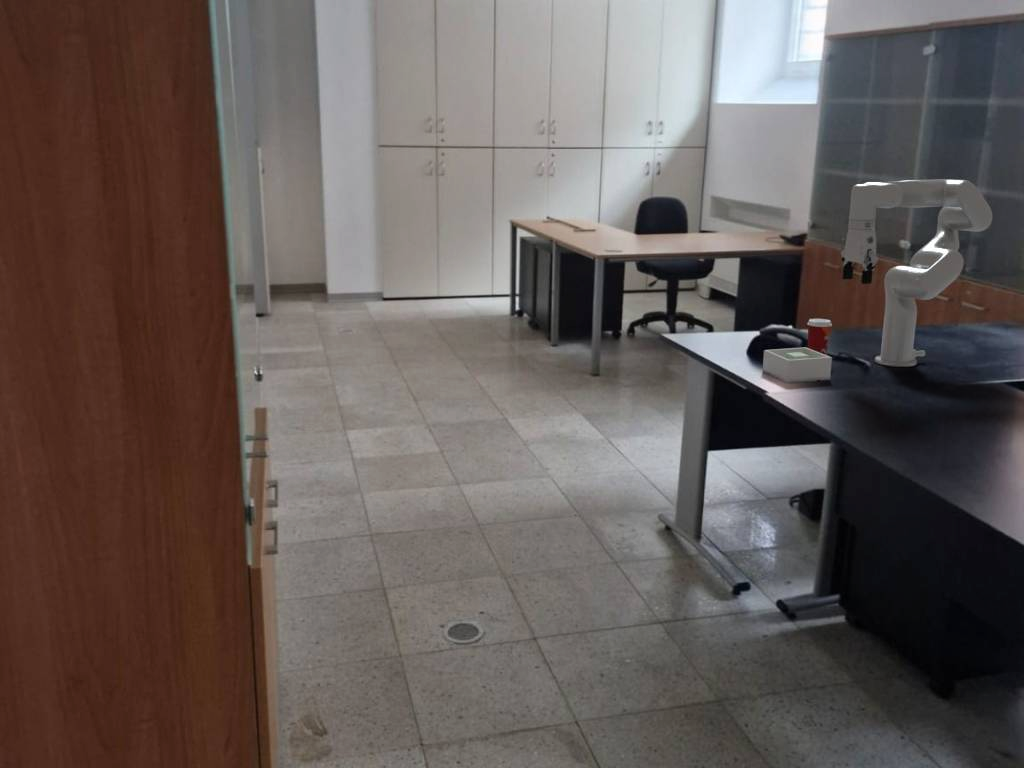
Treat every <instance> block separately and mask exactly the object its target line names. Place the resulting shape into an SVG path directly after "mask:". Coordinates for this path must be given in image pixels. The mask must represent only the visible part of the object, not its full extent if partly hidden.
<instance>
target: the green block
mask: <svg viewBox="0 0 1024 768" xmlns="http://www.w3.org/2000/svg"><path fill="white" fill-rule="evenodd" d="M786 358H787V359H789V360H793V359H807V358H809V355H806V354H804V353H801V352H795V353H786Z"/></svg>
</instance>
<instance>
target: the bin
mask: <svg viewBox="0 0 1024 768" xmlns="http://www.w3.org/2000/svg"><path fill="white" fill-rule="evenodd" d="M795 352H801V353H804V354H806V355H809V358H807V359H793V360H789V359H787V358H786V353H795ZM762 362H763V364H762V372H763V373H764V374H767V375H769V376H771V377H773V378H775V379H778V380H780V381H782V382H784V383H785V384H791V383H793V384H794V383H795V384H796V383H805V382H806V381H807V382H817V380H820V381H830V380H831V372H832V362H833V358H832V357H831V356H830V355H828V354H827V355H824V354H822V353H819V352H816V351H814V350H811V349H809V348H808V347H806V346H805V347H791V348H789V347H788V348H778V349H777V348H776V349H774V348H773V349H765V350H763V361H762Z"/></svg>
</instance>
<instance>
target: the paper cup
mask: <svg viewBox="0 0 1024 768" xmlns="http://www.w3.org/2000/svg"><path fill="white" fill-rule="evenodd" d="M806 325H807V348H809V349H811V350H814V351H816V352H819V353H822V354H824V355H827V356H828V348H829V342H830V334H831V328H832V326H833V324H832V321H831V320H830V319H825V318H809V320H808V322H807V323H806Z"/></svg>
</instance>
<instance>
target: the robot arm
mask: <svg viewBox="0 0 1024 768" xmlns="http://www.w3.org/2000/svg"><path fill="white" fill-rule="evenodd" d="M849 206H850V208H849V216H848V227H847V228H848V230H847V234H846V239H845V245H844V249H843V250H841V251H840V255H841V261H842V280H853V277H854V265H853V264H855V263H856V264H860V265H861V266H862V268H863V270H862V271H861V272H862V273H861V282H860V284H863V285H867V284H868V285H871V283H872V282H873V272H874V271H875V268H876V266H877V262H878V260H879V257H878V256H877V233H876V230H875V229H876V228H875V227H876V219H877V218H876V217H877V208H878V209H892V208H893V209H894V208H895V207H898V208H900V207H901V208H908V209H909V208H912V209H914V208H915V209H917V208H918V209H919V208H920V209H921V208H935V207H937V208H939V207H940V208H941V207H942V208H941V209H940V210H939V213H938V215H937V229H936V234H935V235H934V237H932V238H931V240H930V241H928V242H927V243H926V244H925V245H924V246H922V247H921V248H920V249H919V250H918V251H916V252H915V253H914V254H913V256H912V257H911V259H910V262H909V265H897V266H893V267H891V268H890V269H889V270H888V271H887V272H886V274H885V276H884V279H883V280H884V282H883V283H884V284H883V285H884V292H885V293H884V294H885V304H884V305H885V306H884V307H885V308H884V318H883V327H882V337H881V348H880V355H877V356H875V357H874V361H875V363H877V364H880V365H884V366H886V367H887V366H889V367H897V368H899V367H900V368H901V367H903V368H905V367H906V368H908V367H913V366H916V365H917V362H918V361H917V360H916V358H917V357H925V356H926V351H925V350H924V349H922V350H917V349H914V342H915V333H916V323H917V318H918V317H917V316H918V315H917V314H918V308H917V307H918V306H917V304H916V299H917V300H923V301H926V300H931V299H934V298H935V297H937V296H938V295H939V294H940V293H941V292H943V291H944V290H945V289H947V287H948V286H949V285H951V284H952V283H953V282H955V280H957V278H959V276H960V275H961V273H962V270H963V267H964V263H965V261H964V257H963V255H962V253H960V252H959V249H960V240H959V231H966V232H977V233H978V232H983V231H985V230H987V229H988V228H990V226H991V224H992V222H993V212H992V210H991V209H992V208H991V207H990V205H989V204H988V201H986V200H985V198H984V196H983V195H982V193H981V192H980V190H979V189H978V187H977V186H976V185H975V184H974V183H973V182H971V181H969V180H966V179H950V178H949V179H948V178H947V179H945V178H943V179H915V180H914V179H913V180H912V179H911V180H910V179H909V180H896V181H895V180H894V181H867V182H864V183H858V184H855V185H853V186H852V188H851V193H850V205H849Z"/></svg>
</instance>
